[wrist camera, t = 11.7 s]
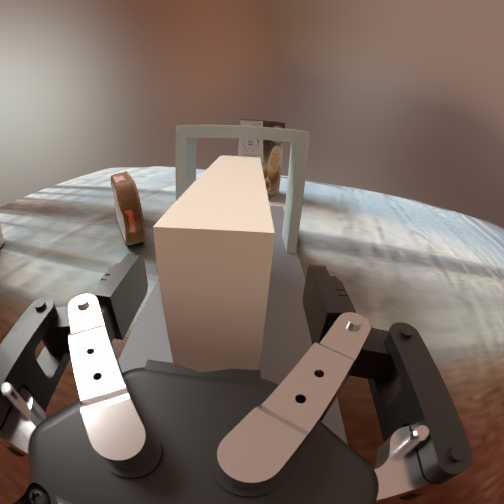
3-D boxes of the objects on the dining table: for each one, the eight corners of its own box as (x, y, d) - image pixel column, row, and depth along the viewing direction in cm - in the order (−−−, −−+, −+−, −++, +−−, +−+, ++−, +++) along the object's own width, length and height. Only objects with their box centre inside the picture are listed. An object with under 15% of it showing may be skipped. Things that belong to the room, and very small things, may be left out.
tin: (149, 252, 31) (143, 184, 28) (125, 258, 30) (116, 188, 26) (131, 216, 42) (127, 167, 39) (113, 219, 41) (109, 169, 37)
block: (185, 412, 12) (152, 226, 7) (218, 257, 27) (220, 155, 22) (252, 418, 12) (274, 233, 7) (253, 259, 27) (260, 157, 23)
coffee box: (263, 201, 53) (269, 120, 46) (235, 196, 55) (239, 118, 48) (279, 192, 60) (285, 122, 53) (254, 188, 63) (258, 120, 56)
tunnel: (178, 246, 29) (176, 125, 23) (188, 228, 33) (188, 125, 27) (295, 252, 29) (310, 131, 23) (290, 234, 33) (301, 130, 28)
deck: (98, 458, 9) (84, 445, 9) (202, 214, 44) (202, 202, 43) (339, 479, 10) (352, 469, 9) (281, 218, 45) (282, 206, 44)
